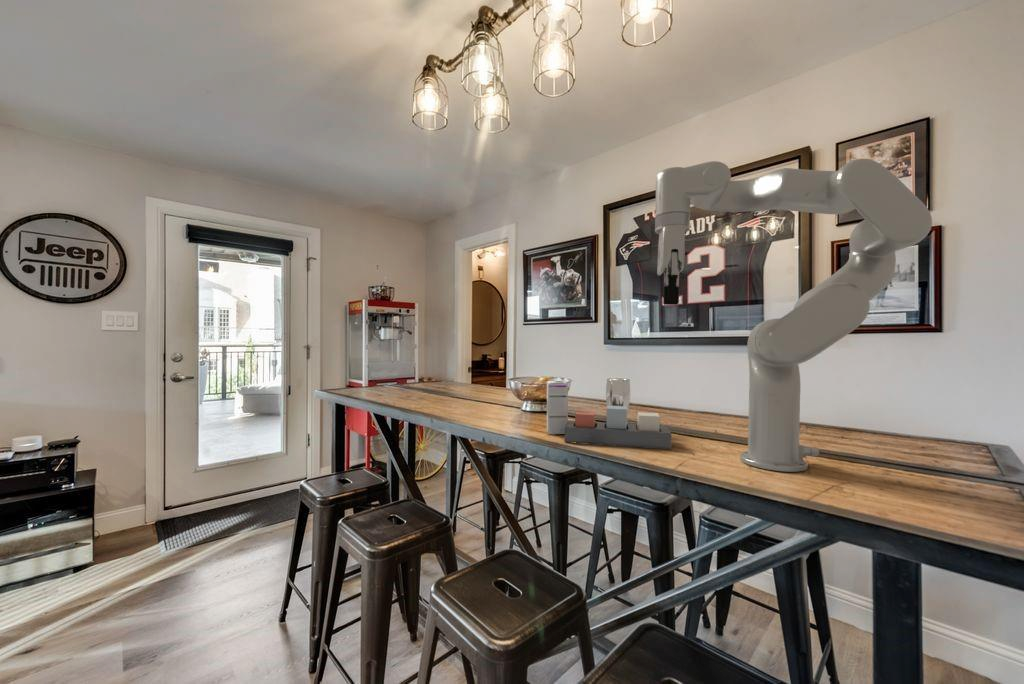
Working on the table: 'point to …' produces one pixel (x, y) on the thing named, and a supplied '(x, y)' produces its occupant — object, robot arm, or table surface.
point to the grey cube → (616, 417)
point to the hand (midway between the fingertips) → (670, 304)
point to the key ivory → (648, 421)
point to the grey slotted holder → (618, 436)
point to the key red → (585, 419)
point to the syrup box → (557, 406)
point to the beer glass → (618, 392)
